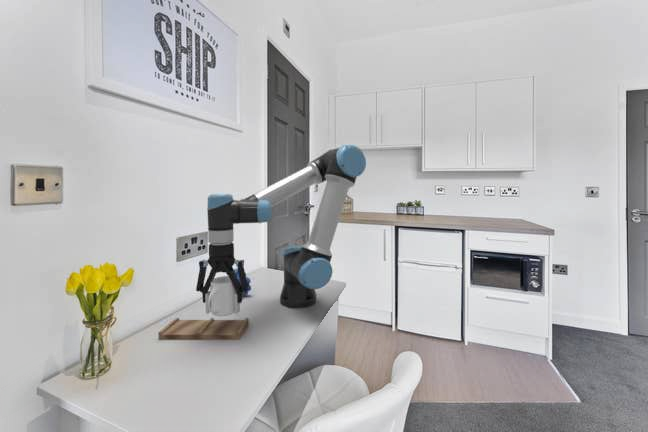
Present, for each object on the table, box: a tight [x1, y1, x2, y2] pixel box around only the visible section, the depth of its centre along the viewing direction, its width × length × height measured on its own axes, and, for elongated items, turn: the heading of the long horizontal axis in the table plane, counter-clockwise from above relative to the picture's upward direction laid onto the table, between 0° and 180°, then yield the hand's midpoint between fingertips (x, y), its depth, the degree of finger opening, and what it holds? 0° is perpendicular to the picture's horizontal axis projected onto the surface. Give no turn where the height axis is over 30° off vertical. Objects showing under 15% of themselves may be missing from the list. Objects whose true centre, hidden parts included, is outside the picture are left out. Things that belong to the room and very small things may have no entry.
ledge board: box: [158, 317, 250, 340], centre depth 90 cm, size 25×10×2 cm, turn 89°
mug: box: [208, 275, 236, 317], centre depth 89 cm, size 9×12×11 cm
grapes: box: [233, 267, 252, 297], centre depth 120 cm, size 12×7×12 cm, turn 70°
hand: (223, 312), depth 89 cm, fingers closed on mug, 9 cm apart
